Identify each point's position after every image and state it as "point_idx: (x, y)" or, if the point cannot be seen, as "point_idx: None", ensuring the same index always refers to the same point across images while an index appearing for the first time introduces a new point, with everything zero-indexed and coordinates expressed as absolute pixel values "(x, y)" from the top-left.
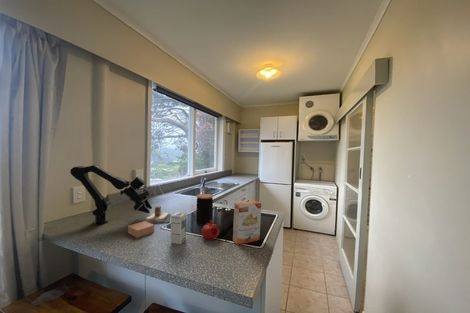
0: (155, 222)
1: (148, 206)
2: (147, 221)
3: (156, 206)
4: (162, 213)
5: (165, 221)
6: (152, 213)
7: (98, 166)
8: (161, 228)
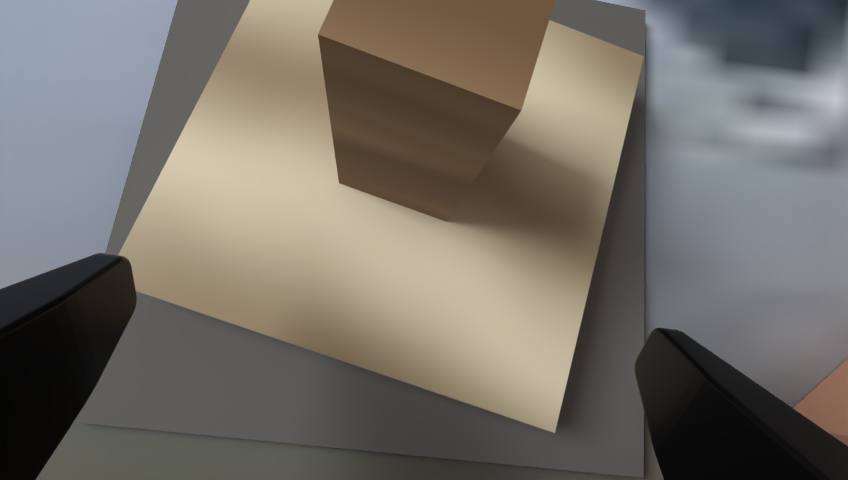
0: (627, 228)
1: (21, 419)
2: None
3: (383, 34)
4: (288, 40)
5: None
6: (185, 271)
7: None
8: (839, 154)
